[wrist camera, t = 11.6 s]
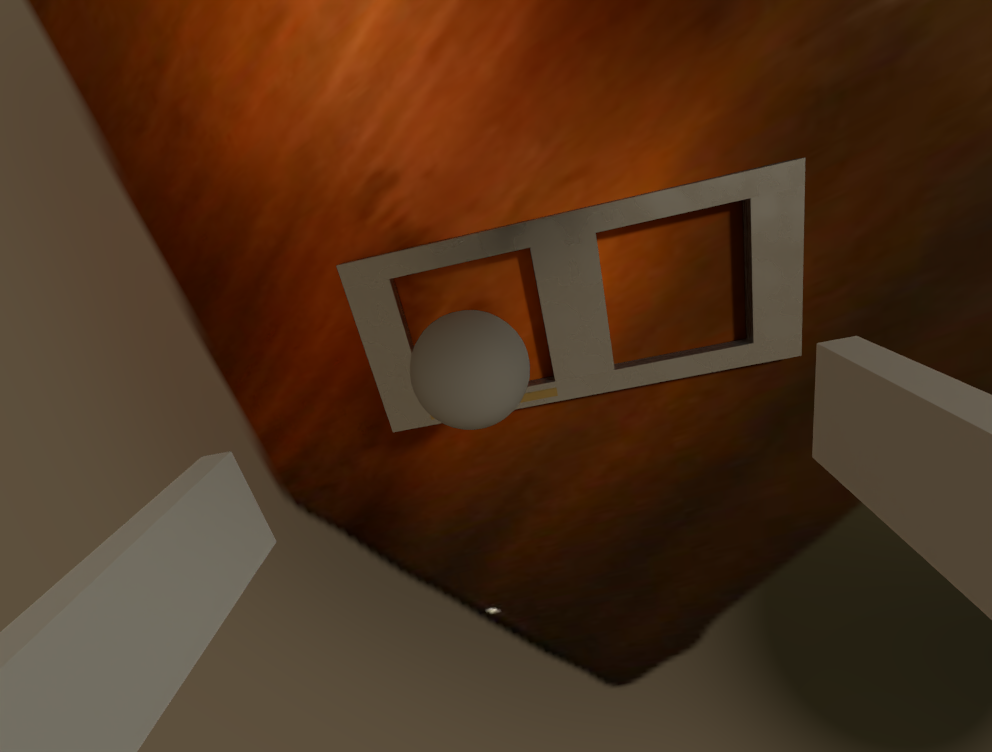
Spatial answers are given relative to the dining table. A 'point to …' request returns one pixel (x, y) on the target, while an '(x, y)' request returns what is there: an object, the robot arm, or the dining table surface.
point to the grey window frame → (599, 290)
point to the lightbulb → (469, 369)
